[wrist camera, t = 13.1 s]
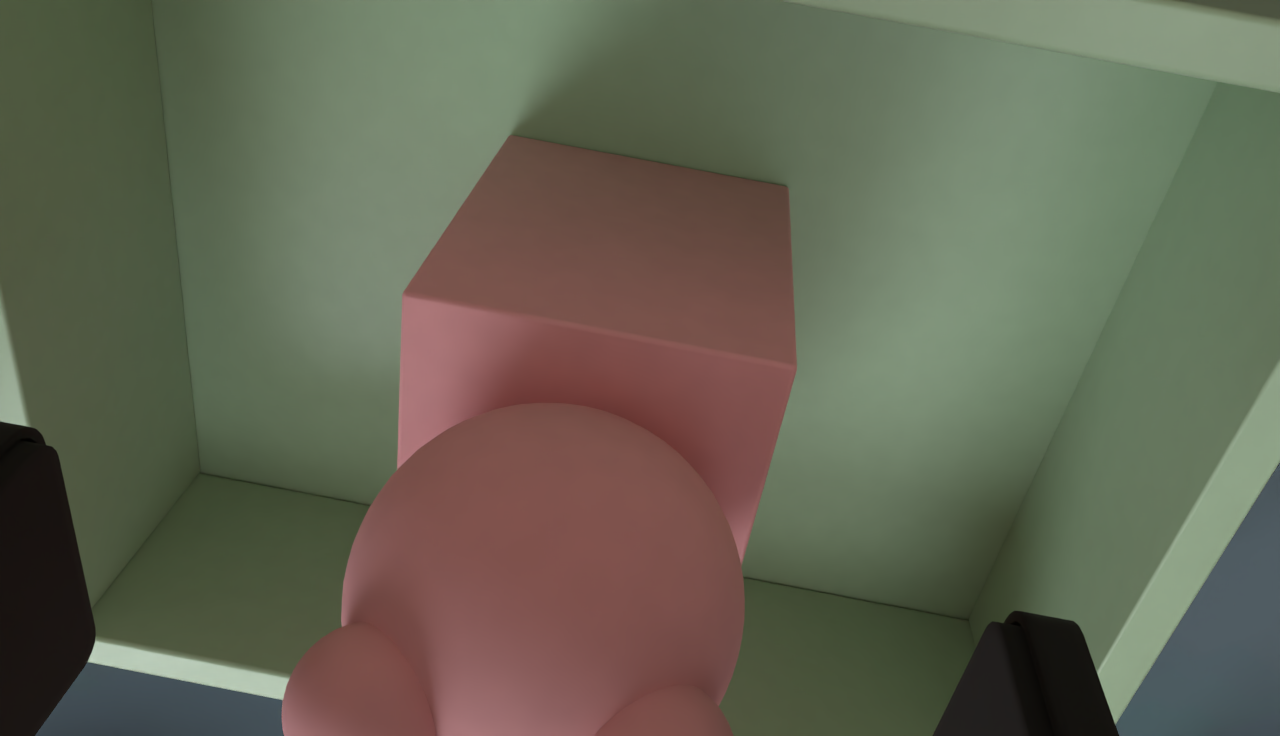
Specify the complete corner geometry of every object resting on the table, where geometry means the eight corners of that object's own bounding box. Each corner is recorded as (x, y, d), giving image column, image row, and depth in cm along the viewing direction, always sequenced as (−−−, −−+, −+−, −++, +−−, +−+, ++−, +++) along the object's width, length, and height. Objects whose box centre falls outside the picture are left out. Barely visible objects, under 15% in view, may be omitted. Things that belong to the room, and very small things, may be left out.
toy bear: (508, 133, 16) (222, 554, 8) (790, 185, 16) (813, 667, 8) (485, 405, 19) (258, 931, 11) (724, 451, 19) (687, 1015, 11)
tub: (102, -250, 14) (-181, -250, 10) (1300, -30, 14) (1530, 65, 10) (185, 474, 22) (39, 654, 17) (985, 627, 21) (1038, 849, 17)
